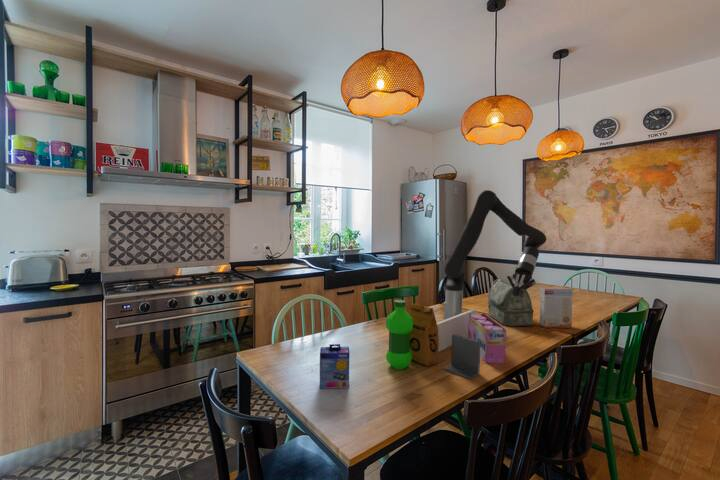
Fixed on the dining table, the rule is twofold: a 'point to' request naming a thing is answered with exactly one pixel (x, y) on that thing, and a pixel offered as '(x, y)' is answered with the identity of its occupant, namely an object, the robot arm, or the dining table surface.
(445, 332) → the shelf wall
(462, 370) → the bookend
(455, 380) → the dining table surface
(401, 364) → the plastic bottle
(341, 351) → the ink cartridge box
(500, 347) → the gum box
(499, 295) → the lunch bag
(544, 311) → the cracker box
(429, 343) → the coffee package
